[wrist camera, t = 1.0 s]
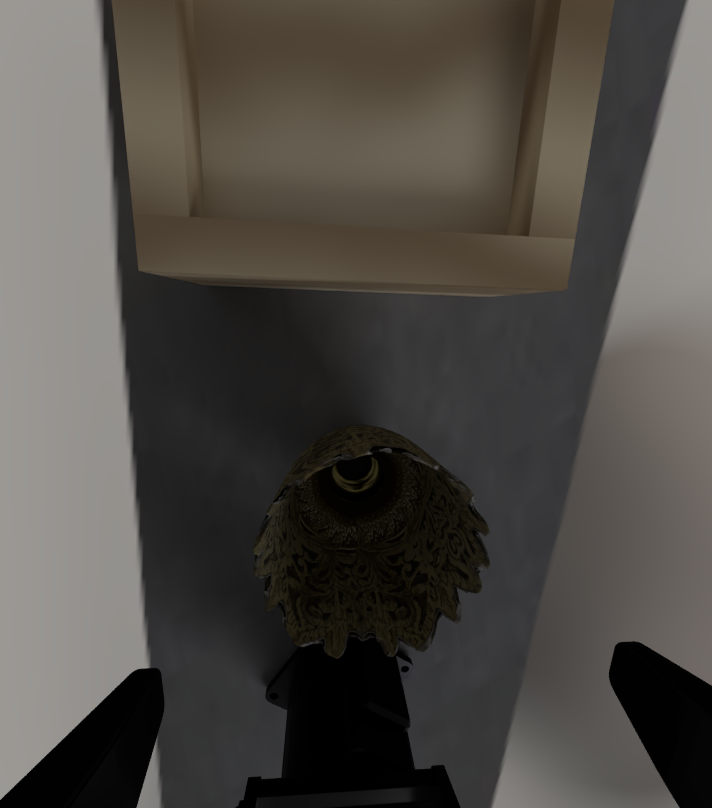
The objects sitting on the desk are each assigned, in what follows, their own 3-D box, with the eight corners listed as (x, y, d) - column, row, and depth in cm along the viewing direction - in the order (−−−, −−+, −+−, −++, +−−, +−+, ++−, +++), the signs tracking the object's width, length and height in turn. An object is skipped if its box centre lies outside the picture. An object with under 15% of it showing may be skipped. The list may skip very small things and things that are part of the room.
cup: (273, 521, 19) (240, 658, 12) (289, 384, 18) (264, 440, 10) (410, 533, 20) (463, 670, 13) (438, 405, 19) (519, 471, 11)
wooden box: (486, 297, 18) (566, 289, 12) (203, 285, 16) (138, 270, 11) (526, -49, 14) (661, -289, 9) (181, -94, 13) (70, -409, 7)
